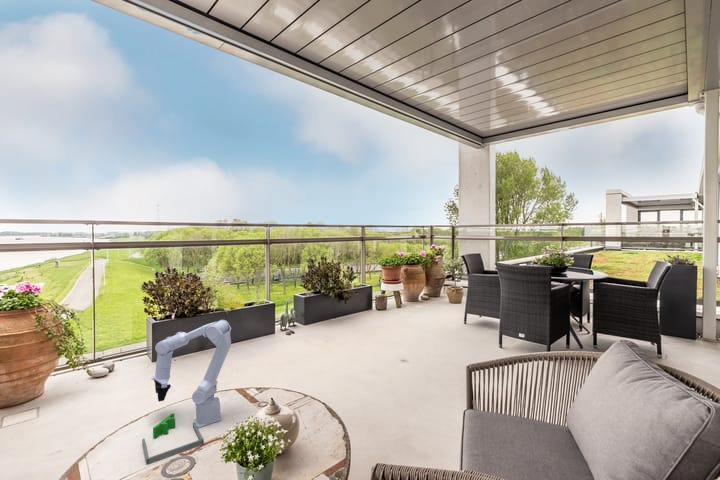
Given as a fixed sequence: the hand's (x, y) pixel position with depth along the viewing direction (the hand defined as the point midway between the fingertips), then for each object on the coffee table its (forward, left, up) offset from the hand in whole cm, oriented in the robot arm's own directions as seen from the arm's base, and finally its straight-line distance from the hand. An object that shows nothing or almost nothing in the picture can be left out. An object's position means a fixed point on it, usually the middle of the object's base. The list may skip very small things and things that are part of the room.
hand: (159, 396), depth 150 cm
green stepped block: (-1, +12, -11) cm, 16 cm away
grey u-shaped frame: (-1, +23, -10) cm, 25 cm away
